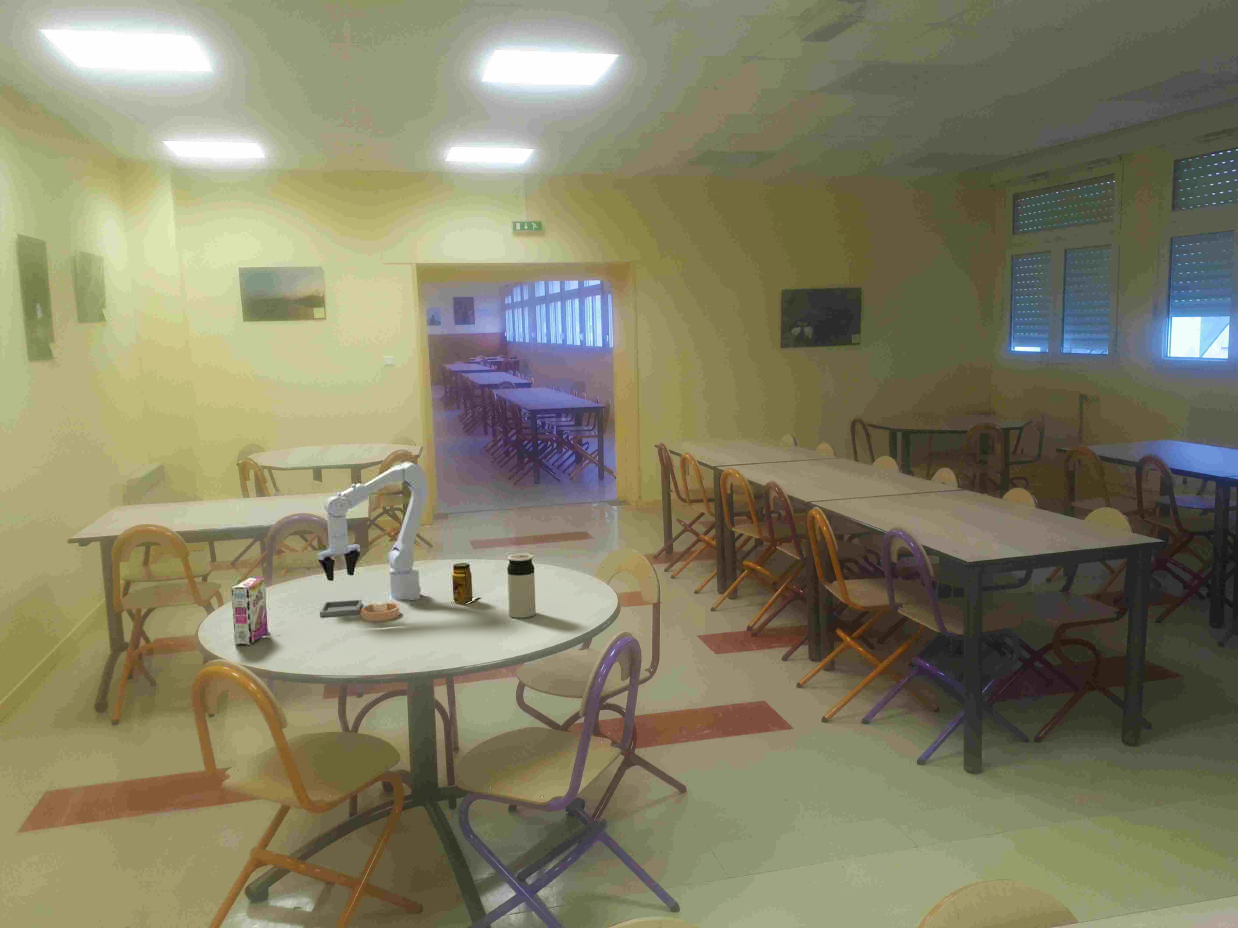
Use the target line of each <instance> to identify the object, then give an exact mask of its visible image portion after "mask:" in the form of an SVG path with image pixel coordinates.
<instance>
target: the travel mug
mask: <svg viewBox="0 0 1238 928" xmlns="http://www.w3.org/2000/svg"><path fill="white" fill-rule="evenodd" d="M533 558H534V555H532V554H530V553H514V554H511V555H508V556H507V559H508V562H509V563H508V566H507V591H508V592H507V593H508V594H507V597H508V614H509V616H510V617H512V618H516V619H527V617H528V618H531V617H533V616H535V615H536V613H537V612H536V611H537V610H536V581H535V579H536V577H535V566H534V563H533Z"/></svg>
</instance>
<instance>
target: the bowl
mask: <svg viewBox="0 0 1238 928" xmlns="http://www.w3.org/2000/svg"><path fill="white" fill-rule="evenodd" d="M386 602H387V601H386ZM360 612H361V619H362V620H365V621H369V622H383V621H384V622H385V621H389V620H393V619H395V618H397V617H399V616H400V614H401V613H400V612H401V611H400V604H398V603H395V602H387V611H385V612H374V610H373V603H371V604H367V605H365V606H363V607H362V608H361V609H360Z"/></svg>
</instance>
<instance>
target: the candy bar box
mask: <svg viewBox="0 0 1238 928" xmlns="http://www.w3.org/2000/svg"><path fill="white" fill-rule="evenodd" d="M265 579H266V578H265V577H249V578H246V579H245V580H243V581H241V582H240V583H238V584H235V585H234V586H232V587H231V588H230V589H231V601H232V616H233V617H232V619H233V634H234V636H233V637H234V645H235V646H252V645H254V644H255V643H256V642H257V641H258V640H260V639H261V638H263V637H264V636H265V634H266V633H267V632H268V631H269V628H268V627H269V626H268V613H267V611H268V610H267V595H266V594H267V593H266V580H265Z"/></svg>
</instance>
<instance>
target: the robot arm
mask: <svg viewBox="0 0 1238 928" xmlns="http://www.w3.org/2000/svg"><path fill="white" fill-rule="evenodd" d="M392 483H405V484H406V485H407V487H408V489H409V491H410V492H411V496H410V499H409V503H408V505H407V508H406V509H407V510H406V512H405V515H404V519H403V522H402V524H401V529H400V532H399V536H398V538H397V540H396V541H395V543H393V546H392V549H391V550H390V551H389V552H388V554H387V557H386V559H387V562H388V565H389V566H390V568H389V588H390V595H389V597H388V600H389V601H397V600H398V601H399V600H400V601H401V600H409V601H413V600H419V599H420V595H421V593H422V592H421V591H422V590H421V586H420V585H421V583H420V571H419V569H413V567H414V563H415V562H414V554H415V547H414V543H415V540H416V537H417V534H418V531H419V527H420V525H421V521H422V517H423V514H424V512H425V508H426V505H427V501H428V498H429V495H430V487H429V484H428V480H427V473H426V472H425V471H424V469H423V467H421V466H420V465H419V464H415V463H413V462H411V461H402V462H401V463H400V464H397V465H395V466H393V467H391V468H390V469H388V470H386V471H384V472H383V473H381V474H380V475H378V476H376V477H375V478H373V479H371V480H370V481H368V482H367V483H365V484H362V483H357V484H355V483H352V484H351V485H350V487H349V488H347V489H346V490H344V491H342V492H339V491H338V492H337V495H336V496H335V495H333V496H331V497H328V499H327V500H326V501H325V505H324V509H325V511H326V512H327V534H328V535H327V536H328V549H325V550H323V551H321V552H317V553H316V554H317V560H318V563H319V564H320V566H321V567H322V569H323V571H324V573H325V576H326V579H327V581H328V582H329V581H330V582H333V581H334V578H335V577H334V576H335V574H334V568H335V562H336V560H335V559H332V557H336V556H341V555H344V559H345V564H346V572H347V575H348V576H354V574H355V569H356V565H357V561H358V560H359V558H360V556H361V553H360V551H361V548H360V547H361V545H360V544H356V543H354V544H349V536H348V535H349V534H348V520H347V512H348V510H351V509H353V508H355V507H357V506H358V505H360V504H362V503H363V502H366V501H367V500H369V497H370V494H372V493H374V492H375V491H378V490H379V489H381V488H383V487H386V486H388V485H390V484H392Z"/></svg>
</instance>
